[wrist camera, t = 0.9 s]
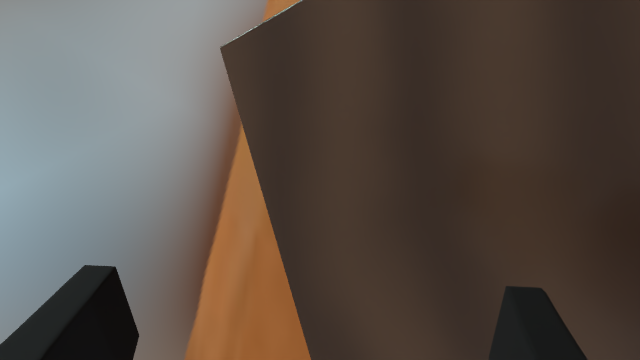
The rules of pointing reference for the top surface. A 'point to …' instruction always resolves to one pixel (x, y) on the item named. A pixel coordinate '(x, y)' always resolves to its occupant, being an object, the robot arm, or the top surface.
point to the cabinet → (448, 168)
